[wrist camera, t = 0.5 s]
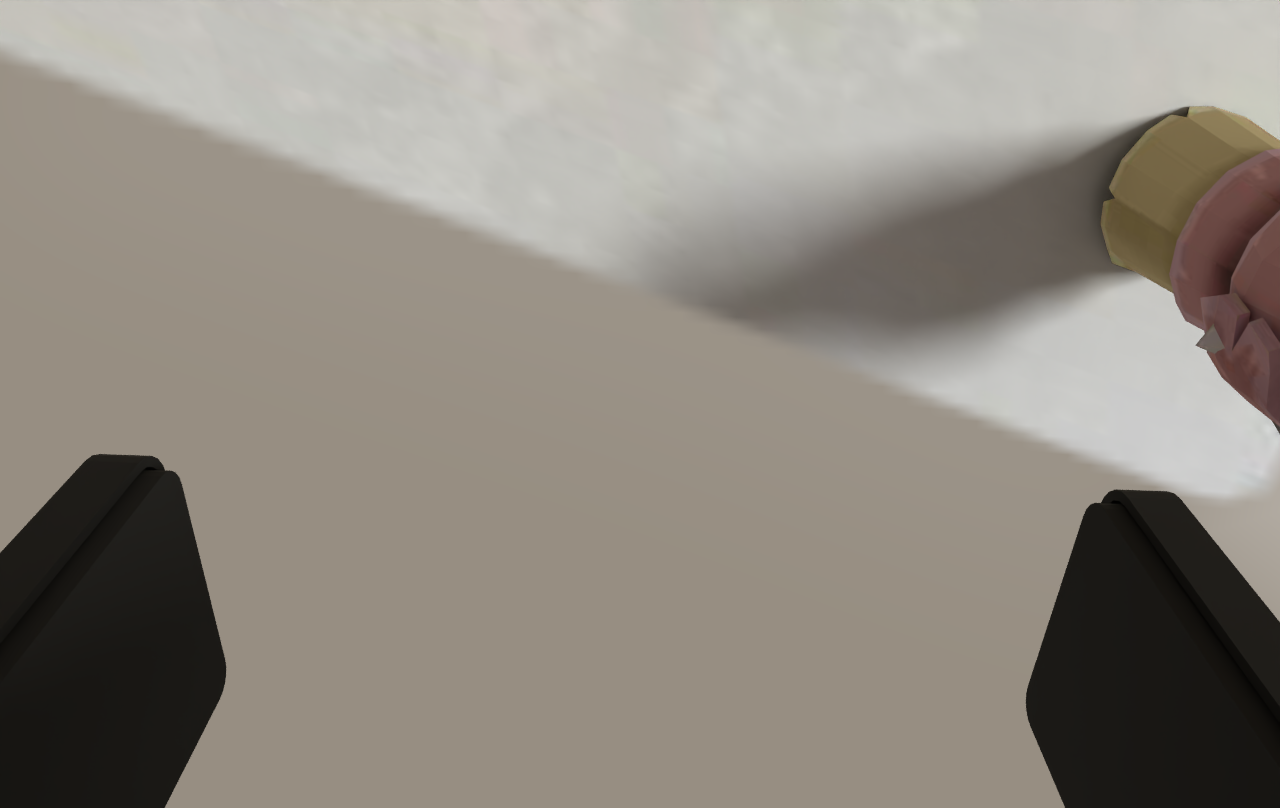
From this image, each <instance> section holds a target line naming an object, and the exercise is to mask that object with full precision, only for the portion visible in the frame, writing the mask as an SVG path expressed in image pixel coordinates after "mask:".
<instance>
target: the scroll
mask: <svg viewBox="0 0 1280 808" xmlns="http://www.w3.org/2000/svg"><path fill="white" fill-rule="evenodd" d="M1109 189H1110V191H1111V192H1112V194H1113V196H1114V199H1111V200H1107V201H1104V202H1103V209H1102V216H1101V223H1100V224H1101V228H1102V232H1103V235H1104V239H1105V243H1106V247H1107V250H1108V253H1109V255H1110V258H1111V261H1112V263H1113V264H1115V265H1118V266H1121V267H1124V268H1127V269H1130V270H1132V271H1135V272H1137V273H1139V274H1141V275H1142V276H1144V277H1146V278H1147V279H1149V280H1151V281H1153V282H1154V283H1156V284H1158V285H1160V286H1161V287H1163V288H1165V289H1167V290H1168V291H1170V292H1172V293H1174V297H1175V301H1176V304H1177V306H1178V307H1179V309H1180V311H1181V313H1182V315H1183V317H1184V319H1185V321H1187V322H1189V323H1191V324H1193V325H1195V326H1197V327H1198V328H1200V329H1202V330H1204V332H1205V334H1204V336H1203V337H1202V338H1201V339H1200V340H1199V342H1198V343H1197V344H1196V346H1198V347H1200V348H1203V349H1205V350H1207V353H1208V355H1209V357H1210V358H1211V360H1212V362H1213V363H1214V365H1215V367H1216V368H1217V370H1218V372H1219V373H1220V375H1221V377H1222V378H1223V379H1224V380H1225V381H1226V382H1228V383H1229V384H1230V385H1231V386H1232V387H1233V388H1234V389H1235V390H1236V391H1237V392H1238V393H1239V394H1240V395H1241V396H1243V397H1244V398H1245V399H1246V400H1247V401H1248V402H1249V403H1250V404H1252V405H1253V406H1254V407H1255V408H1257V409H1258V410H1259V411H1261V412H1262V413H1263V414H1264V415H1266V416H1267V417H1268V418H1269V419H1271V420H1272V422H1273V423H1274V425H1275V427H1276V428H1277V430H1278V432H1279V433H1280V141H1279V140H1278V139H1276V138H1275V137H1274V136H1272V135H1271V134H1269V133H1268V132H1266V131H1265V130H1263V129H1262V128H1261V127H1259V126H1258V125H1256V124H1255V123H1253V122H1252V121H1250V120H1249V119H1248V118H1246V117H1244V116H1240V115H1237V114H1234V113H1231V112H1228V111H1225V110H1222V109H1219V108H1216V107H1190V108H1189V111H1188V114H1187V117H1183V116H1177V115H1170V116H1168V117H1167V118H1165V119H1164V120H1162V121H1161V122H1159V123H1158V124H1156V125H1155V126H1153V127H1152V128H1150V129H1149V130H1147V131H1146V133H1145V134H1144V135H1143V136H1142V137H1141V138H1140V139H1139V141H1138V142H1137V143H1136V144H1135V145H1134V146H1133V147H1132V149H1131V150H1130V151H1129V152H1128V153H1127V154H1126V155H1125V157H1124V158H1123V159H1122V161H1121V163H1120V165H1119V167H1118V169H1117V171H1116V173H1115V176H1114V178H1113V180H1112V182H1111V184H1110V186H1109Z"/></svg>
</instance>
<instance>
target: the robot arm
mask: <svg viewBox="0 0 1280 808" xmlns="http://www.w3.org/2000/svg"><path fill="white" fill-rule="evenodd" d="M225 678H226V662H225V657H224V653H223V650H222V645H221V641H220V637H219V633H218V629H217V625H216V621H215V617H214V613H213V609H212V605H211V600H210V596H209V592H208V588H207V584H206V581H205V576H204V572H203V568H202V564H201V560H200V556H199V552H198V548H197V544H196V540H195V536H194V532H193V528H192V524H191V520H190V516H189V512H188V508H187V504H186V499H185V496H184V491H183V488H182V484H181V481H180V478H179V477H178V475H177V474H176V473H175V472H173V471H165V469H164V467H163V465H162V463H161V462H160V461H159V459H158V458H155V457H153V456H138V455H137V456H136V455H107V454H99V455H93V456H91V457H90V458H88V459H87V460H86V461H85V462H84V463H83V464H82V465H81V466H80V467H79V468H78V469H77V470H76V471H75V473H74V474H73V475H72V476H71V477H70V478H69V479H68V480H67V481H66V482H65V483H64V484H63V486H62V487H61V488H60V489H59V490H58V491H57V492H56V493H55V494H54V495H53V496H52V498H51V499H50V500H49V501H48V502H47V503H46V504H45V505H44V506H43V507H42V508H41V509H40V510H39V512H38V513H37V514H36V515H35V516H34V517H33V518H32V519H31V520H30V521H29V522H28V523H27V525H26V526H25V527H24V528H23V529H22V530H21V531H20V532H19V533H18V534H17V536H15V538H14V539H13V540H12V541H11V542H10V543H9V544H8V545H7V546H6V547H5V548H4V550H3V551H2V552H1V553H0V808H165V806H166V804H167V802H168V800H169V798H170V796H171V794H172V792H173V790H174V788H175V786H176V784H177V782H178V780H179V778H180V776H181V774H182V772H183V770H184V768H185V767H186V764H187V763H188V761H189V759H190V757H191V755H192V752H193V751H194V749H195V747H196V745H197V743H198V741H199V739H200V737H201V735H202V733H203V731H204V729H205V727H206V725H207V723H208V721H209V719H210V717H211V715H212V713H213V711H214V709H215V707H216V706H217V704H218V702H219V700H220V697H221V695H222V692H223V688H224V685H225ZM1026 710H1027V716H1028V720H1029V723H1030V726H1031V728H1032V731H1033V733H1034V736H1035V738H1036V740H1037V743H1038V745H1039V747H1040V750H1041V752H1042V754H1043V757H1044V759H1045V761H1046V764H1047V766H1048V768H1049V771H1050V773H1051V776H1052V778H1053V780H1054V782H1055V785H1056V787H1057V790H1058V792H1059V794H1060V797H1061V799H1062V801H1063V803H1064V806H1065V808H1280V622H1279V621H1278V620H1277V618H1276V617H1275V616H1274V615H1273V613H1272V612H1271V611H1270V610H1269V608H1268V607H1267V606H1266V605H1265V603H1264V602H1263V601H1262V600H1261V598H1260V597H1259V596H1258V595H1257V594H1256V592H1255V591H1254V590H1253V588H1252V587H1251V586H1250V585H1249V583H1248V582H1247V581H1246V580H1245V578H1244V577H1243V576H1242V575H1241V574H1240V572H1239V571H1238V570H1237V569H1236V567H1235V566H1234V565H1233V564H1232V562H1231V561H1230V560H1229V559H1228V557H1227V556H1226V555H1225V554H1224V552H1223V551H1222V550H1221V549H1220V547H1219V546H1218V545H1217V544H1216V543H1215V541H1214V540H1213V539H1212V537H1211V536H1210V535H1209V534H1208V532H1207V531H1206V530H1205V529H1204V528H1203V526H1202V525H1201V524H1200V523H1199V521H1198V520H1197V519H1196V518H1195V516H1194V515H1193V514H1192V513H1191V511H1190V510H1189V509H1188V508H1187V506H1186V505H1185V504H1184V503H1183V501H1182V500H1181V499H1180V498H1179V497H1178V496H1177V495H1175V494H1174V493H1171V492H1167V491H1140V490H1138V491H1137V490H1113V491H1110V492H1108V494H1107V495H1106V496H1105V497H1104V498H1103V500H1102V502H1101V503H1094V504H1091V505H1090V506H1089V507H1088V508H1087V509H1086V511H1085V514H1084V516H1083V519H1082V522H1081V525H1080V528H1079V531H1078V534H1077V537H1076V540H1075V544H1074V547H1073V550H1072V553H1071V556H1070V559H1069V562H1068V565H1067V568H1066V571H1065V574H1064V577H1063V580H1062V583H1061V586H1060V590H1059V593H1058V596H1057V599H1056V602H1055V605H1054V608H1053V611H1052V614H1051V617H1050V620H1049V623H1048V626H1047V630H1046V633H1045V636H1044V639H1043V642H1042V645H1041V648H1040V651H1039V654H1038V657H1037V660H1036V663H1035V666H1034V670H1033V672H1032V675H1031V679H1030V682H1029V685H1028V688H1027V693H1026Z"/></svg>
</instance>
